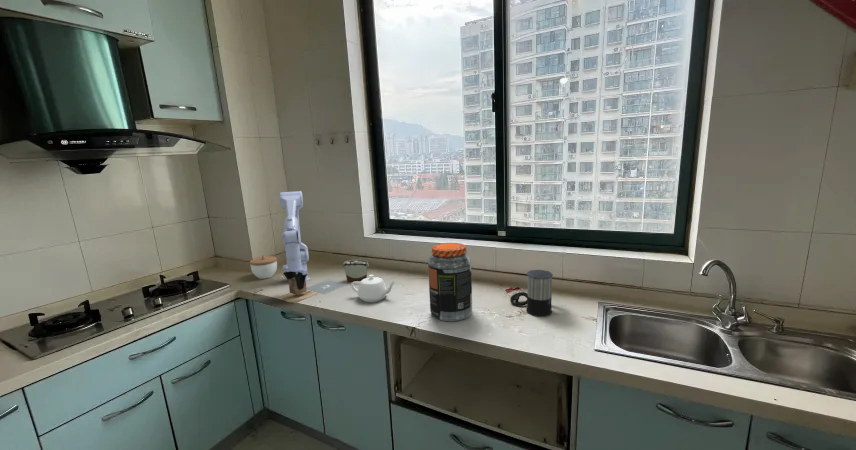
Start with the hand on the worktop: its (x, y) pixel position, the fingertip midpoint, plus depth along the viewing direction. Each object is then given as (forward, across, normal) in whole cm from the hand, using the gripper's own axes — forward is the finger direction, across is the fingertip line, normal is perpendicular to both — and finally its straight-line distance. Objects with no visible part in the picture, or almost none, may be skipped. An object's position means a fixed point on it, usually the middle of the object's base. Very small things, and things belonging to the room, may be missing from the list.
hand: (296, 287), depth 157 cm
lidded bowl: (+4, -39, +9) cm, 40 cm away
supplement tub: (+4, +67, +18) cm, 69 cm away
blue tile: (+4, +2, +14) cm, 15 cm away
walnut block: (+2, 0, 0) cm, 2 cm away
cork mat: (+4, 0, 0) cm, 4 cm away
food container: (+4, +9, +28) cm, 30 cm away
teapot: (+4, +31, +15) cm, 35 cm away
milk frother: (+4, +91, +37) cm, 98 cm away
